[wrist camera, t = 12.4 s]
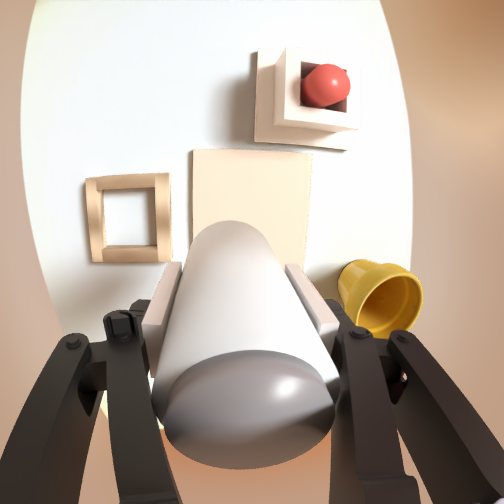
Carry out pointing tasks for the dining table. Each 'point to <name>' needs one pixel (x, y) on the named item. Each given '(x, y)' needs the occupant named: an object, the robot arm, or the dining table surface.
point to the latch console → (293, 110)
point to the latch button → (324, 86)
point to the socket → (97, 221)
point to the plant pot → (380, 296)
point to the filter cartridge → (241, 358)
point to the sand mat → (255, 195)
